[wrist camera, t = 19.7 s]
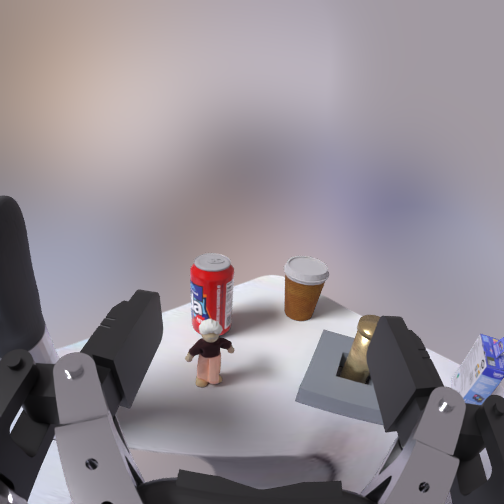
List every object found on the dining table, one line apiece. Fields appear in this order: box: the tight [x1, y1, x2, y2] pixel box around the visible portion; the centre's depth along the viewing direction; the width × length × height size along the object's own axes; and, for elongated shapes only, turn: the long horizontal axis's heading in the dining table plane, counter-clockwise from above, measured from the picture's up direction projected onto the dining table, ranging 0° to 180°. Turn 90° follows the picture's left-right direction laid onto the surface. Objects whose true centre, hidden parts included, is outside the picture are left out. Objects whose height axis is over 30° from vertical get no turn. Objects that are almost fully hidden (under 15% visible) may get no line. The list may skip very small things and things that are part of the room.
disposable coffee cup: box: [284, 256, 329, 321], centre depth 62 cm, size 10×10×12 cm
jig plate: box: [295, 330, 384, 425], centre depth 46 cm, size 16×16×4 cm
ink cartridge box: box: [452, 334, 504, 405], centre depth 37 cm, size 10×6×14 cm, turn 151°
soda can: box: [190, 253, 234, 336], centre depth 55 cm, size 8×8×15 cm
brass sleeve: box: [339, 315, 380, 384], centre depth 44 cm, size 5×5×13 cm
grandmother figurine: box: [185, 319, 234, 387], centre depth 43 cm, size 8×4×13 cm, turn 124°
